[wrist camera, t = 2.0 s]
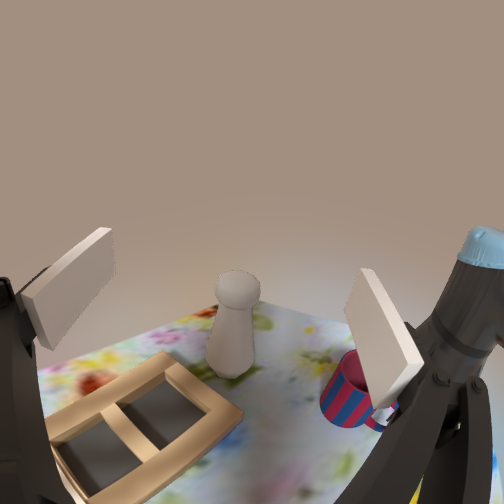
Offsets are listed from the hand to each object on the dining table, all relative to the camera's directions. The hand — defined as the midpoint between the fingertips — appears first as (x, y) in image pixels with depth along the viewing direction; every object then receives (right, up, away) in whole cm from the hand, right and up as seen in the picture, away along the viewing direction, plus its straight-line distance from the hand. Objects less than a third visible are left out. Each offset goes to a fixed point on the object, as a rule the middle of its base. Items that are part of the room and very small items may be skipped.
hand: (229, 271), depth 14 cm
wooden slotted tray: (-13, -19, +3) cm, 23 cm away
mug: (+13, -18, +12) cm, 25 cm away
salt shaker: (-2, -13, +18) cm, 22 cm away
